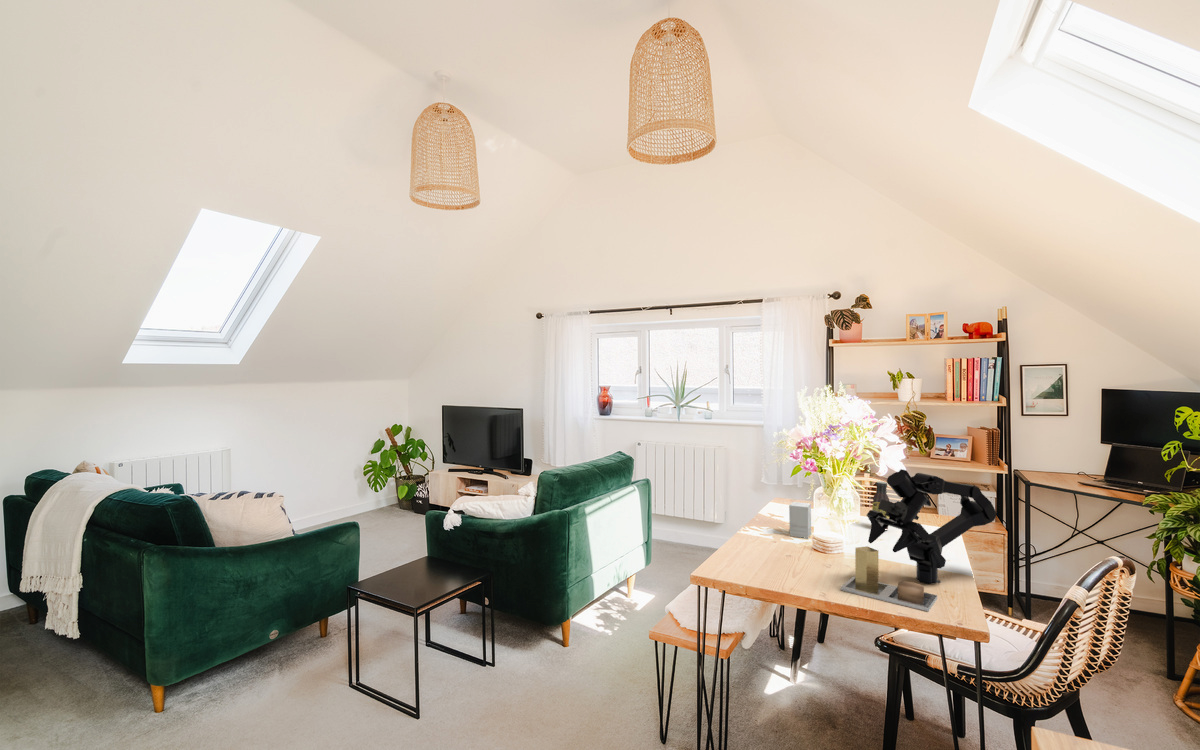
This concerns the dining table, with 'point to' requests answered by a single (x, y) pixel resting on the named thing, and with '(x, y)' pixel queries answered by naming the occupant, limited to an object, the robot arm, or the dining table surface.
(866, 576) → the block
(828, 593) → the dining table surface
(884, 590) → the tray
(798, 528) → the supplement box
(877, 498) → the sauce bottle
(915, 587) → the walnut puck
